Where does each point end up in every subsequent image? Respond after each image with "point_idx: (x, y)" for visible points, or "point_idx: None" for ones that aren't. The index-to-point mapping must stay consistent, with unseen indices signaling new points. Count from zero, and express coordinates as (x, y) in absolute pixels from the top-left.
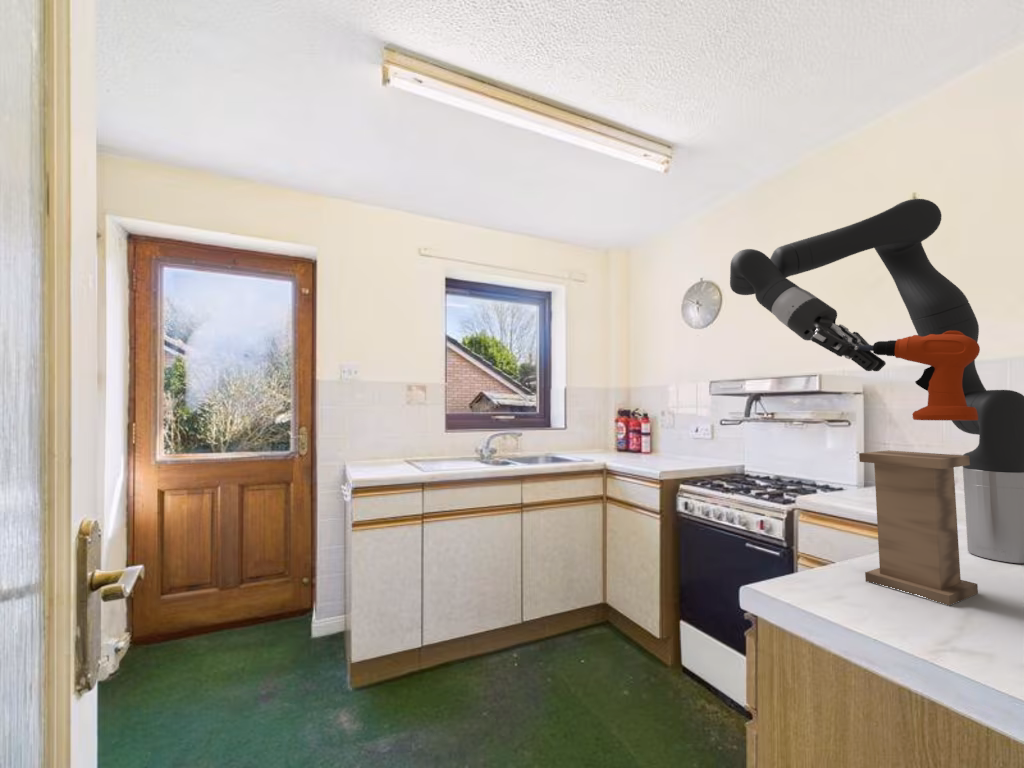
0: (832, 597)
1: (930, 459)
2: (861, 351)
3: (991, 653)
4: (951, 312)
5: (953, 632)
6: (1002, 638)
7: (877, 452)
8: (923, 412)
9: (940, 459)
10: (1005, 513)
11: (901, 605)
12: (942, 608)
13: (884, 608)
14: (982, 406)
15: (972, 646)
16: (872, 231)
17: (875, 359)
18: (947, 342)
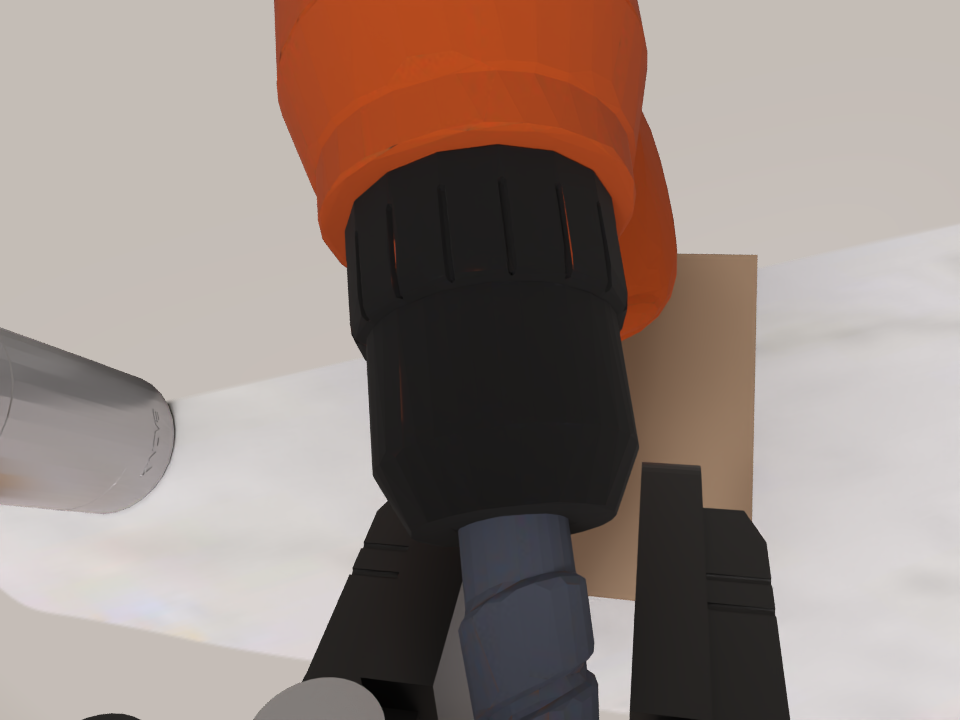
0: (949, 592)
1: (754, 293)
2: (706, 688)
3: (947, 260)
4: None
5: (897, 334)
6: (829, 271)
7: (614, 565)
8: (662, 259)
9: (756, 256)
10: (77, 382)
11: (824, 459)
12: None
13: (892, 476)
14: None
15: (945, 289)
16: None
17: (644, 493)
18: None
